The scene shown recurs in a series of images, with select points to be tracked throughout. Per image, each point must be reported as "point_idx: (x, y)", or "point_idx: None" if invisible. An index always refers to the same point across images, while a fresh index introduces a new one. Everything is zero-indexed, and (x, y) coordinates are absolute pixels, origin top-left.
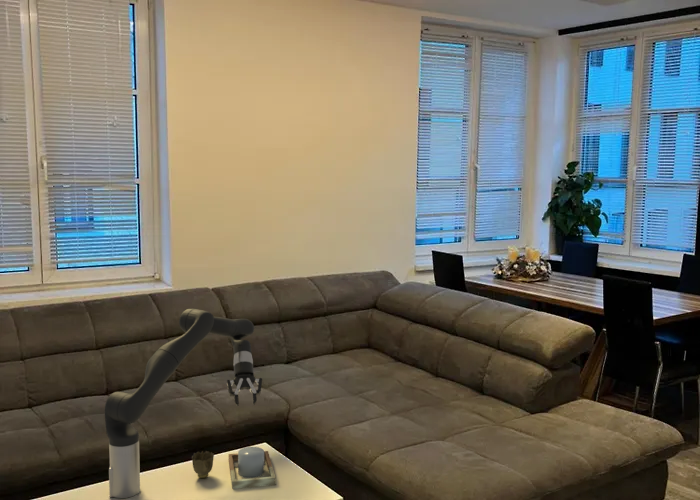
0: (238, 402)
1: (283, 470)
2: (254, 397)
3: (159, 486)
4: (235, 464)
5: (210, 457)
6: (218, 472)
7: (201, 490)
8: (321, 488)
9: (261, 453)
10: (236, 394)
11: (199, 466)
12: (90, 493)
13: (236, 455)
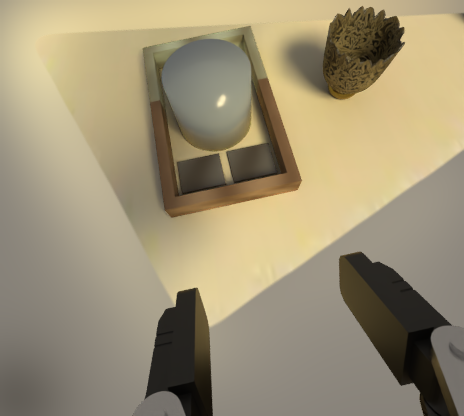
0: (348, 257)
1: (126, 133)
2: (175, 335)
3: (434, 45)
4: (268, 158)
5: (342, 68)
6: (307, 116)
7: (321, 34)
8: (45, 55)
9: (170, 64)
10: (439, 327)
11: (357, 31)
12: None
13: (272, 177)
